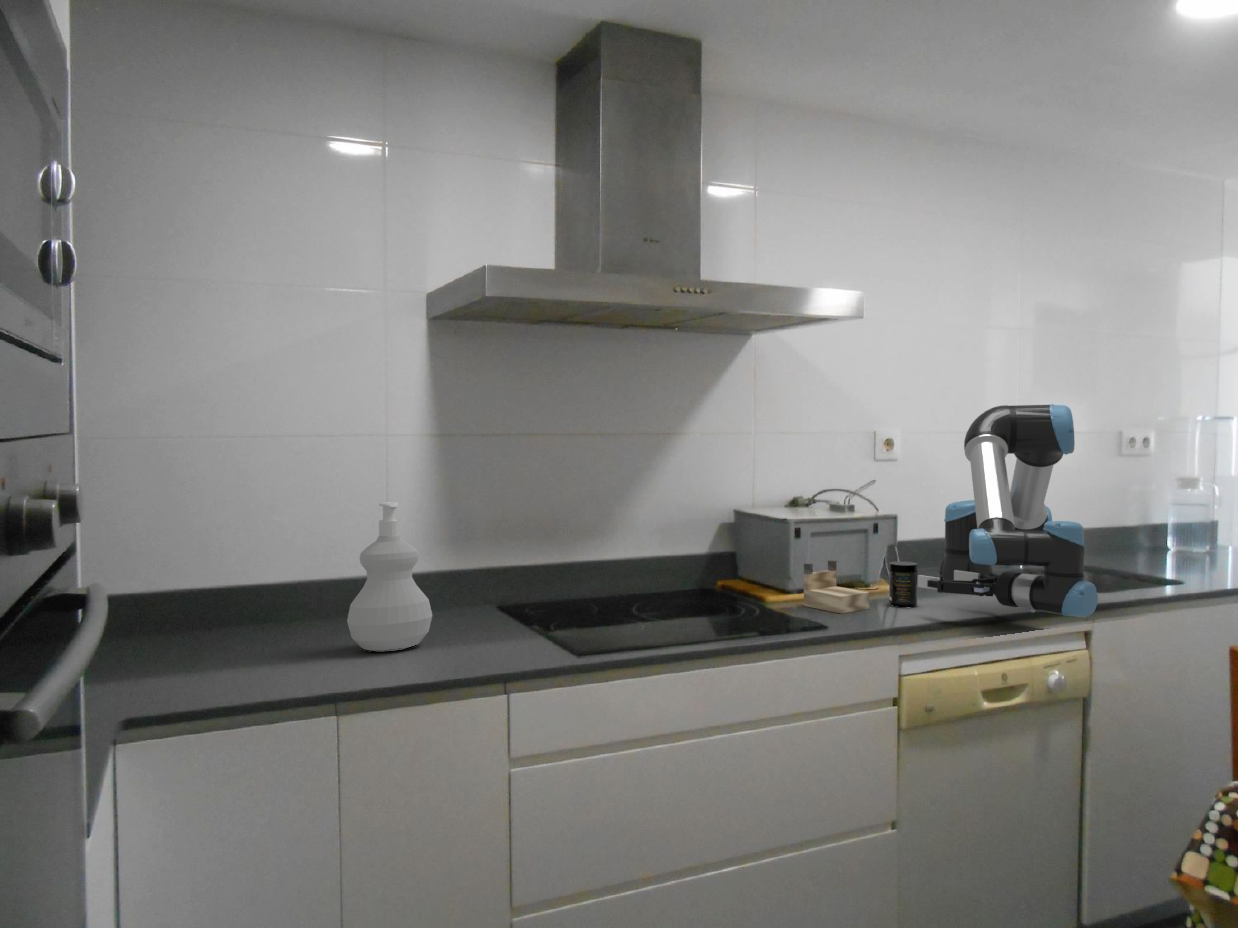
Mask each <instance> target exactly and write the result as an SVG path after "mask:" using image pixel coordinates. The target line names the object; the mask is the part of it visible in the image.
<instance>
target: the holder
mask: <svg viewBox="0 0 1238 928" xmlns="http://www.w3.org/2000/svg"><path fill="white" fill-rule="evenodd" d="M813 566H814V565H813V563H810V562H807V563H803V606H804V607H808V608H813V609H818V610H823V611H827V612H833V613H837V614H845V613H847V614H848V613H853V612H857V611H864V610H869V609H870V593H871V592H869V591H866V590H865V591H864V590H861V589H855V588H848V587H843V586H837V560H833V559H831V560H827V569H826V570H819V571H813V568H814V567H813Z"/></svg>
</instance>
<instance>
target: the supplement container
mask: <svg viewBox="0 0 1238 928" xmlns="http://www.w3.org/2000/svg"><path fill="white" fill-rule="evenodd" d="M918 569H919V568H918V563H917V562H912V561H900V560H899V561H889V562H888V571H889V574H888V578H889V579H888V580H889V581H888V602H889V605H890V606H892V605H893V606H892V607H895V606H898V607H897V608H902V607H910V608H914V607H916V606H917V605H918Z"/></svg>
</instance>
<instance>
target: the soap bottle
mask: <svg viewBox="0 0 1238 928" xmlns="http://www.w3.org/2000/svg"><path fill="white" fill-rule="evenodd" d="M378 506H379V507H382V519H379V520H378V536H377V538H376V540H375V541H373V542H372V543H371V544H369V545H368V546H367V547H365V549H364V550H362V551H361V552H360V553H359V554H360V555H359V562H360V564H361V566H362V567H363V568H364V570H365V571H366V581H365V583H364V585H363V587H362V588H361V590H360V591H359V593H357V595H356V597H355V598H354V599H353V600H352V602H351V603H350V604H349V605H350V606H349V611H348V614H347V619H346V622H347V625H348V626H347V627H348V629H349V634H350V636H351V639H352V640H353V641H354V642H355V643H356V644H357V645H358V646H359V647H360V648H361V649H362V648H363V649H367V650H388V649H398V648H407V647H411V646H414V645H417V644H418V645H419V644H420V642H422V640H423V639H424V638H425V637H426V635H427V634H428V633H429V631H430V627H431V623H432V619H433V612H432V609H431V607H432V606H431V604H430V599H429V597H428V596H426V594H425V593H424V592H423V590H421V589H420V587H419V586H418V585H417V583H416V582H415V580H414V578H413V569H414V568H415V566H416V565H417V563H418V561H419V558H420V557H419V556H420V555H419V551H418V549H416V548H415V547H414V546H413V545H411V544H410V543H408V542H406V541H405V540H403V538H402V537H401V535H400V520H399V519H396V517H395V516H396V515H395V513H396V512H395V511H396V510H395V509H397V508H398V506H399V503H398V502H396V501H385V502H383V501H381V502H380V503H379V504H378ZM418 645H417V646H418ZM414 647H415V646H414Z"/></svg>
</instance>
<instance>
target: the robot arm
mask: <svg viewBox="0 0 1238 928" xmlns="http://www.w3.org/2000/svg"><path fill="white" fill-rule="evenodd" d="M1073 419H1074V418H1073V413H1072V410H1071V408H1070V407H1069V406H1067V405H1065V404H1053V403H1051V404H1027V405H1026V404H1024V405H1020V404H1019V405H1006V404H1005V405H997V406H994V407H991V408H989V409H987V410H985V411H984V412H983V413H981V414H980V415H979V416H977V418H975V420H973V422H972V423H971V424H970V425H969V428H968V429H967V431H966V434H965V438H964V439H963V440H964V443H963V450H964V455H965V458H966V459H967V460H968V462H970V468H971V469H970V471H971V478H972V479H971V481H972V488H973V489H972V491H973V499H970V500H962V501H955V502H952V503H949V504H948V505H946V507H945V511H944V512H945V513H944V520H943V522H945V523H944V556H943V559H942V562H941V565H940V567H939V571H938V574H937V577H935V576H931V575H930V576H929V575H928V576H927V575H924V574H923V575H922V574H917V588H922V589H929V590H935V591H937V593H940V594H942V593H945V594H959V595H970V596H971V595H972V596H979V597H984V596H986V597H994V596H995V597H996V600H997V602H998V603H999V604H1000V605H1002V606H1004V607H1013V608H1021V609H1024V610H1025V609H1026V610H1029V611H1030V612H1031V613H1032V614H1033V613H1036V611H1038V612H1044V613H1050V614H1056V615H1061V616H1065V617H1074V618H1076V617H1078V618H1088V617H1090V616H1091V615H1093V614H1094V612H1095V611H1096V608H1097V607H1098V606H1097V605H1098V601H1099V593H1098V592H1097V588H1096V586H1095V584H1094V583H1092V582H1090V581H1087V580H1085V575H1084V565H1085V562H1084V561H1085V547H1086V545H1085V535H1084V534H1085V533H1084V526H1083V525H1082V524H1081V523H1079V522H1078V521H1077V522H1075V521H1067V520H1066V521H1065V520H1053V516H1052V511H1051V509H1050V508H1049V507H1048V506H1047V505H1046V504H1045V499H1046V496H1047V492H1048V488H1049V484H1050V482H1051V481H1050V480H1051V476H1052V472H1053V468H1054V465H1056V464H1058V463H1059V462H1060V461H1061V460H1062V459H1063V456H1064V455H1065V456H1066V455H1067V456H1068V455H1069V454H1072V453H1074V452H1075V443H1076V442H1075V428H1074V426H1075V425H1074V420H1073ZM1008 454H1010V455H1011V454H1012V455H1014V456H1015V458H1016V460H1015V466H1014V471H1013V474H1012V475H1013V477H1012V480H1011V485H1010V483H1009V478H1008V471H1007V464H1006V457H1007V456H1008ZM994 566H1021V567H1023V566H1024V567H1025V566H1026V567H1043V575H1039V574H1034V573H1032V574H1030V573H1021V572H1017V571H1016V572H1015V571H1004V572H1002V573H1001V574H1000V575H999V574H996V573H995V571H994Z"/></svg>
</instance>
